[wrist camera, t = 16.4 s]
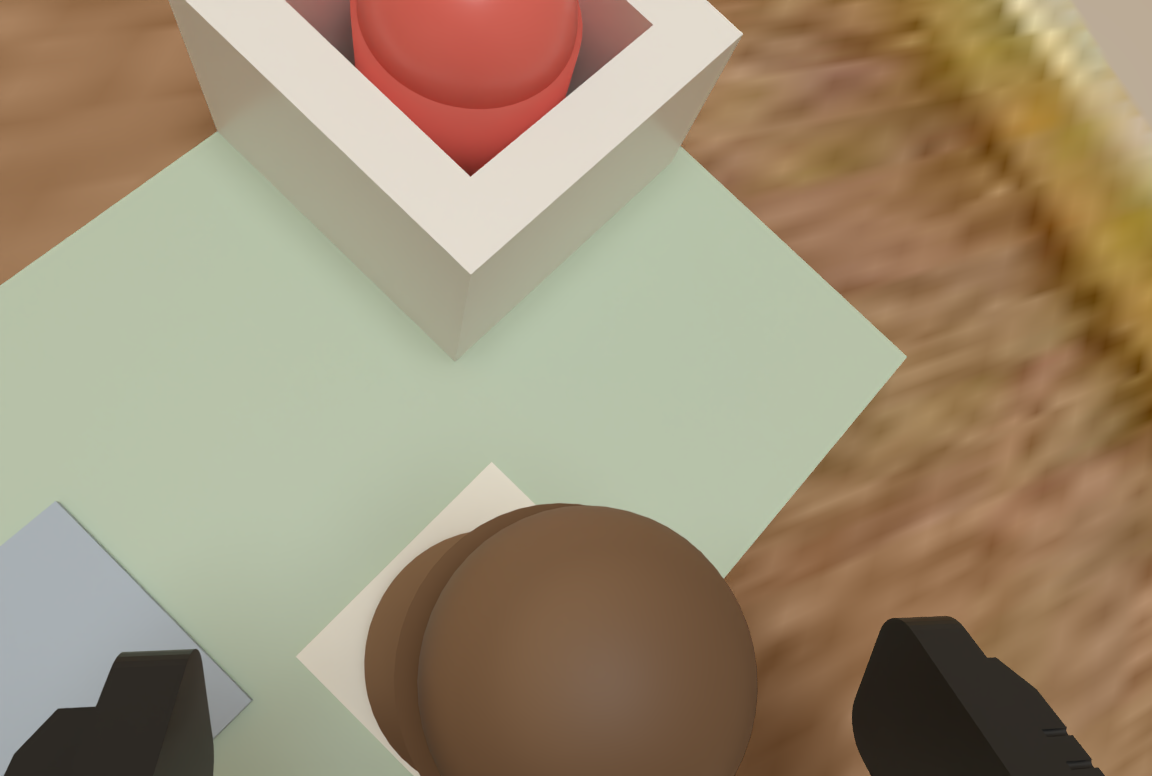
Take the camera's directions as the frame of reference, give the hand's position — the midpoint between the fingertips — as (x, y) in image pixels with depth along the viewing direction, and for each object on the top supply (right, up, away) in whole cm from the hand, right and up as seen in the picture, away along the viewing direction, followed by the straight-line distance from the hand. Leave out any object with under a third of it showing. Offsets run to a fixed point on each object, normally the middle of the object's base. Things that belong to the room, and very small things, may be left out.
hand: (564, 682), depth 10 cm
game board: (-4, +2, +7) cm, 9 cm away
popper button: (-2, +9, +8) cm, 12 cm away
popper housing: (-3, +9, +10) cm, 13 cm away
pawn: (-1, -2, +6) cm, 6 cm away
